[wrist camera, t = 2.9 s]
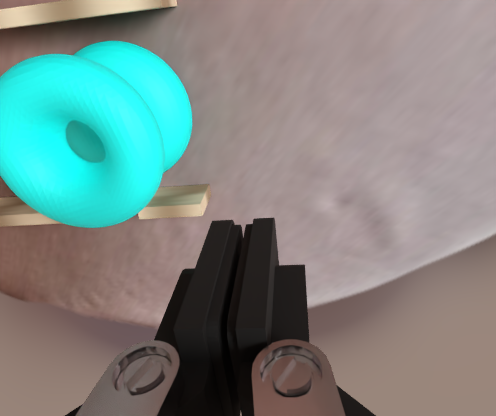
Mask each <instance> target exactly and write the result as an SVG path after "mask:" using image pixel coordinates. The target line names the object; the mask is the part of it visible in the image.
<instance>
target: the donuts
mask: <svg viewBox="0 0 496 416" xmlns="http://www.w3.org/2000/svg"><path fill="white" fill-rule="evenodd" d="M191 131H192V111H191V106H190V102H189V98H188V95H187V93H186V90H185V88H184V86H183V84H182V83H181V81H180V79H179V78H178V76H177V75H176V74H175V72H174V71H173V70H172V69H171V68H170V67H169V65H168V64H166V63H165V62H164V61H163V60H162V59H161V58H159V57H158V56H157V55H155V54H154V53H152V52H150V51H149V50H147V49H145V48H143V47H140V46H138V45H135V44H132V43H128V42H122V41H104V42H98V43H94V44H91V45H89V46H86V47H84V48H82V49H81V50H79V51H78V52H76V53H75V54H74V55H67V54H46V55H40V56H36V57H32V58H29V59H26V60H24V61H21V62H19V63H18V64H16V65H14V66H13V67H11V68H10V69H9V70H8V71H7V72H5V73H4V74H3V75H2V76H1V77H0V176H1V177H2V179H3V180H4V181H5V183H6V184H7V185H8V187H9V188H10V189H11V190H12V191H13V192H14V193H15V194H16V195H17V196H18V197H19V198H20V199H21V200H22V201H23V202H25V203H26V204H27V205H28V206H30V207H31V208H33V209H34V210H36V211H37V212H39V213H41V214H42V215H44V216H46V217H48V218H50V219H53V220H55V221H58V222H61V223H64V224H67V225H71V226H76V227H84V228H99V227H107V226H112V225H115V224H119V223H121V222H124V221H126V220H128V219H130V218H131V217H133V216H135V215H136V214H138V213H139V212H140V211H141V210H142V209H144V208H145V207H146V205H147V204H148V203H149V202H150V201H151V199H152V198H153V196H154V195H155V193H156V191H157V190H158V187H159V185H160V182H161V179H162V175H163V173H164V172H165V171H167V170H168V169H170V168H171V167H172V166H173V165H174V164H175V163H176V162H177V161H178V160H179V159H180V158H181V156H182V155H183V153H184V151H185V150H186V148H187V145H188V143H189V140H190V136H191Z"/></svg>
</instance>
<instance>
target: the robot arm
mask: <svg viewBox="0 0 496 416" xmlns="http://www.w3.org/2000/svg"><path fill="white" fill-rule="evenodd" d="M240 411H241V413H242V416H376V415H374V414H373V413H371V412H370V411H369V410H368V409H367V408H365V407H364V406H363V405H361V404H360V403H359V402H358V401H356V400H355V399H354V398H352V397H351V396H350V395H348V394H347V393H346V392H345V391H343V390H342V389H341V388H340V387H338V386H337V385H336V382H335V379H334V375H333V372H332V369H331V365H330V363H329V361H328V359H327V357H326V355H325V354H324V353H323V352H322V351H321V350H320V349H319V348H318V347H316V346H314V345H312V344H310V343H309V329H308V312H307V295H306V278H305V265H280V266H279V260H278V249H277V239H276V228H275V219H274V218H259V219H254V220H253V224H247V225H246V228H245V233H244V238H243V233H242V227H241V225H234V221H233V220H221V221H212V223H211V226H210V228H209V231H208V234H207V237H206V239H205V242H204V245H203V248H202V251H201V253H200V256H199V259H198V262H197V265H196V267H195V269H184V270H183V271H182V273H181V275H180V277H179V280H178V282H177V285H176V287H175V290H174V292H173V294H172V297H171V299H170V302H169V304H168V307H167V309H166V312H165V314H164V317H163V319H162V322H161V324H160V327H159V329H158V332H157V334H156V336H155V339H154V341H145V342H141V343H137V344H136V345H133V346H131V347H129V348H127V349H126V350H124V351H123V352H122V353H120V354H119V355H118V356H117V357H116V358H115V359H114V360H113V362H112V363H111V364H110V365H109V366H108V368H107V370H106V371H105V372H104V374H103V375H102V377H101V379H100V380H99V381H98V383H97V384H96V386H95V387H94V389H93V390H92V392H91V393H90V395H89V396H88V398H87V399H86V401H85V402H84V404H82V405H81V406H79V407H78V408H76V409H74V410H73V411H71V412H70V413H68V414H67V415H65V416H240Z"/></svg>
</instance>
